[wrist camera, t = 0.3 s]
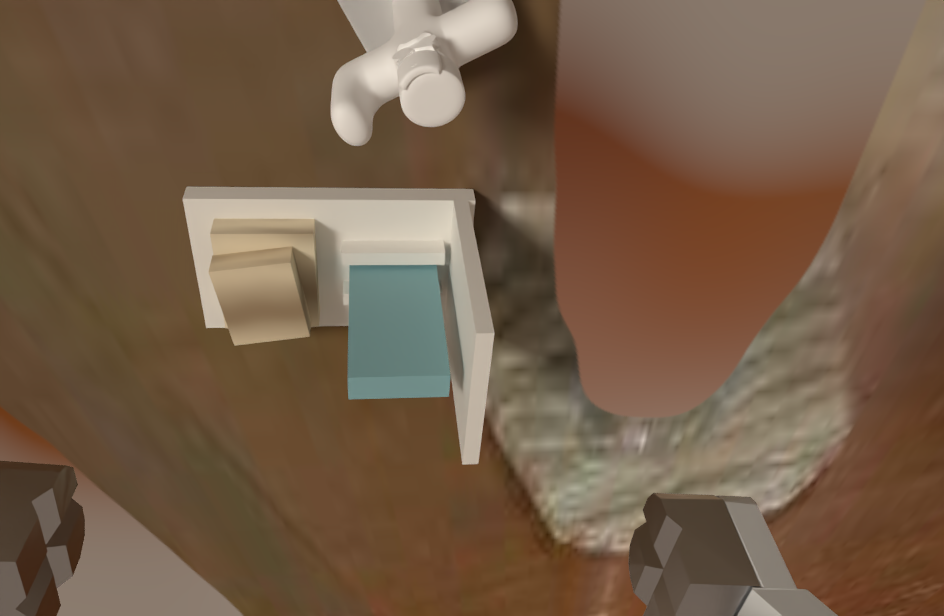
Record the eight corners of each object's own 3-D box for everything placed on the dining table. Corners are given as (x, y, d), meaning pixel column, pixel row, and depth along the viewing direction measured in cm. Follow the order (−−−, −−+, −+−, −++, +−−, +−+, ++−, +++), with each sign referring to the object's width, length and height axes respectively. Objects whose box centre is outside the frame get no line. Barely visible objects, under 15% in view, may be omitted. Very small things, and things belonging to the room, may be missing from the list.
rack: (186, 186, 52) (137, 338, 40) (473, 189, 54) (503, 333, 43) (209, 314, 59) (172, 475, 47) (462, 311, 61) (485, 463, 50)
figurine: (512, 3, 46) (562, 119, 35) (371, 74, 48) (375, 205, 37) (460, -120, 42) (498, -33, 30) (308, -37, 44) (289, 74, 32)
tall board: (349, 256, 55) (347, 377, 46) (435, 256, 56) (450, 375, 46) (350, 276, 56) (348, 399, 47) (434, 276, 57) (448, 396, 48)
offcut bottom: (214, 218, 52) (209, 233, 50) (314, 218, 52) (313, 233, 51) (228, 311, 57) (225, 328, 55) (320, 310, 58) (319, 326, 56)
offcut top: (212, 255, 51) (208, 272, 50) (292, 246, 52) (290, 262, 50) (237, 328, 55) (234, 345, 54) (311, 319, 56) (309, 336, 54)
